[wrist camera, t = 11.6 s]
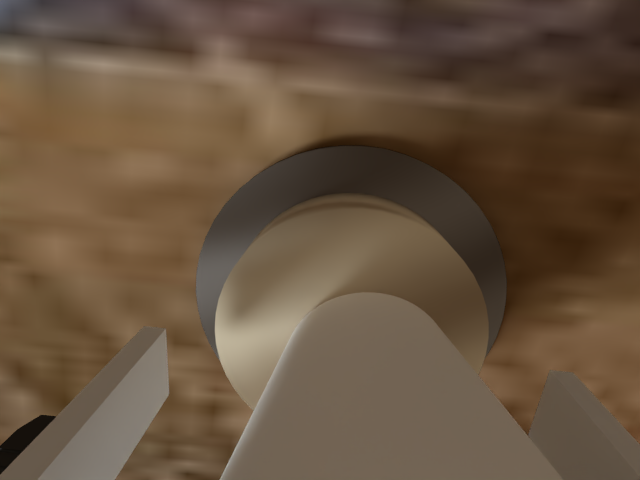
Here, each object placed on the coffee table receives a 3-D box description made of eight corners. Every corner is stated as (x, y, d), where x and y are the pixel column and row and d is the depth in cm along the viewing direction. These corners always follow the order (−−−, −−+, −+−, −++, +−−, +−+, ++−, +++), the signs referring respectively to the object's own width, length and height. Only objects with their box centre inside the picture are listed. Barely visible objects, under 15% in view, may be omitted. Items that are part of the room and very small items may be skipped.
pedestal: (145, 229, 18) (93, 258, 14) (434, 83, 15) (464, 70, 12) (285, 447, 22) (274, 515, 18) (538, 360, 19) (586, 420, 15)
